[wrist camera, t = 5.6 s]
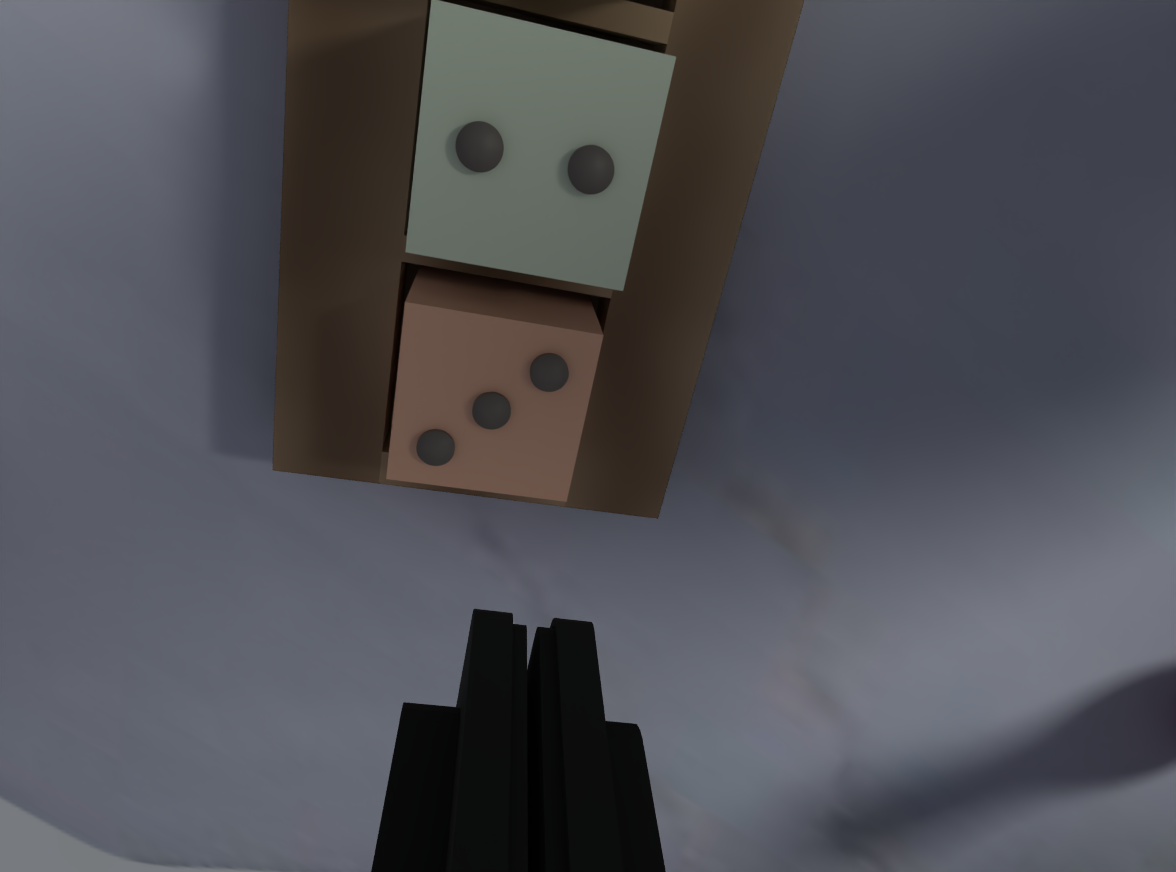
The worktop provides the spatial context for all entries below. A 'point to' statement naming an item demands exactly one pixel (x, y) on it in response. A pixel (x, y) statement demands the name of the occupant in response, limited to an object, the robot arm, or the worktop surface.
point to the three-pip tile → (492, 384)
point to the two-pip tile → (533, 146)
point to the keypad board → (386, 272)
